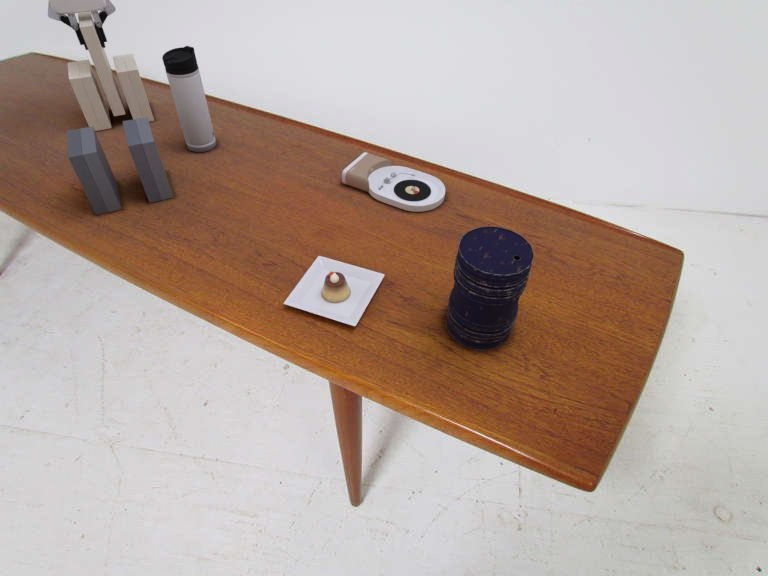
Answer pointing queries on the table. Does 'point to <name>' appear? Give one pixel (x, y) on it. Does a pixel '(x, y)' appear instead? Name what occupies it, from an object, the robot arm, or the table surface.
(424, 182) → the record player
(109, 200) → the grey books
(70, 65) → the white books
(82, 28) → the cream book
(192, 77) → the travel mug
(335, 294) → the dessert
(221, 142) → the table surface
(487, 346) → the dark blue barrel
